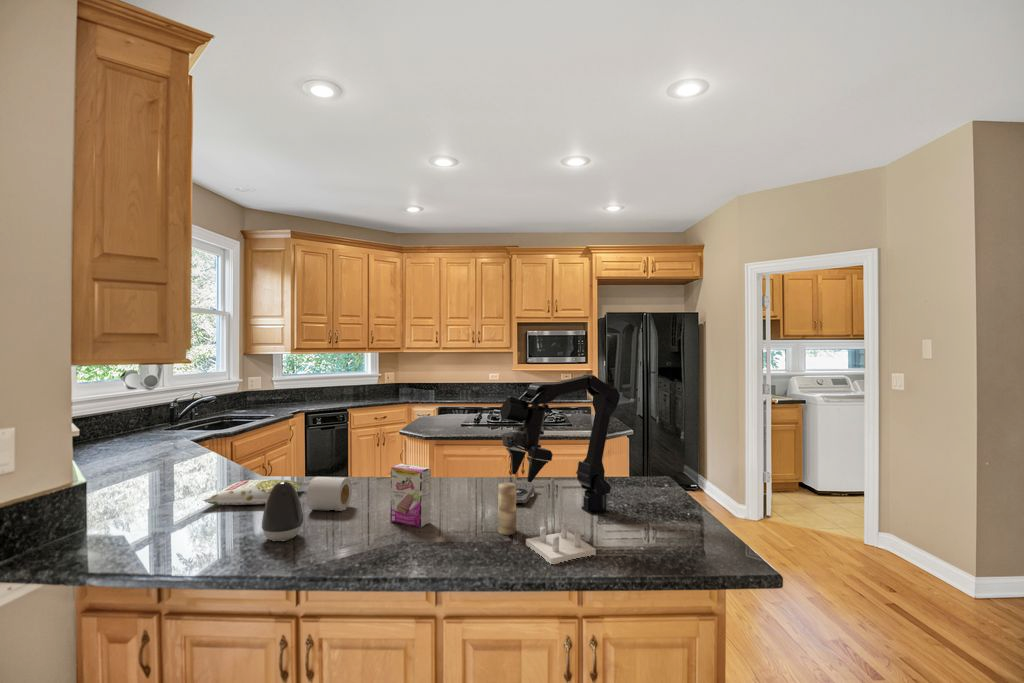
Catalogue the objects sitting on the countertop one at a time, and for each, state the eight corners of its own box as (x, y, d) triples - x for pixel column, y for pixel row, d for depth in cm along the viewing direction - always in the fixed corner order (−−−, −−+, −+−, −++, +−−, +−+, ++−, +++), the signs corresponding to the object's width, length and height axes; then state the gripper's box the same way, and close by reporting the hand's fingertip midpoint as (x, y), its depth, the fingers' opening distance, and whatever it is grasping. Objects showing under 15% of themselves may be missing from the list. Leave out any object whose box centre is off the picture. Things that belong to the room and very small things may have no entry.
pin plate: (567, 536, 137) (568, 518, 137) (595, 555, 126) (595, 535, 126) (525, 544, 132) (526, 525, 132) (551, 564, 120) (551, 544, 120)
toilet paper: (351, 505, 162) (351, 474, 162) (337, 515, 152) (338, 482, 152) (322, 503, 163) (322, 473, 163) (306, 514, 153) (306, 481, 153)
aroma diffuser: (261, 548, 128) (262, 489, 128) (261, 534, 137) (261, 479, 137) (304, 541, 132) (305, 484, 132) (301, 528, 142) (301, 474, 142)
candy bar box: (389, 522, 147) (389, 466, 147) (399, 517, 152) (400, 462, 151) (420, 528, 142) (421, 471, 142) (430, 523, 147) (431, 467, 147)
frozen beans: (284, 490, 158) (200, 491, 155) (283, 509, 157) (200, 510, 155) (305, 475, 178) (231, 476, 176) (305, 491, 178) (231, 492, 176)
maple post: (511, 526, 144) (511, 481, 144) (518, 533, 140) (519, 486, 140) (495, 529, 142) (495, 484, 142) (502, 535, 137) (503, 488, 137)
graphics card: (503, 481, 180) (536, 483, 178) (503, 491, 180) (536, 493, 178) (491, 495, 164) (527, 497, 161) (491, 507, 164) (527, 509, 161)
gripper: (494, 416, 152) (483, 467, 151) (525, 425, 136) (512, 483, 134) (525, 422, 157) (515, 471, 156) (558, 432, 141) (547, 487, 139)
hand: (521, 478), depth 146 cm, fingers open, 9 cm apart
